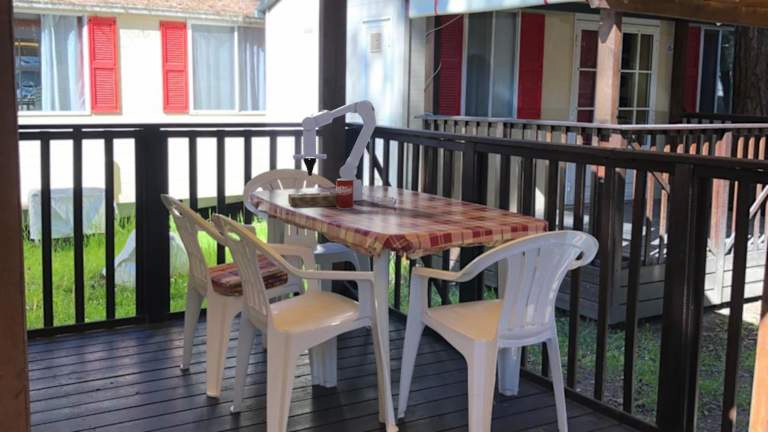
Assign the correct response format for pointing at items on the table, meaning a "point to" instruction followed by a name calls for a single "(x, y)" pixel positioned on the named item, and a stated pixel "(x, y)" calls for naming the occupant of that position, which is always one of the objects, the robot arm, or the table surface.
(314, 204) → the button panel
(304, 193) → the sage button
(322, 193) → the cream button
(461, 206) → the table surface
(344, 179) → the soda can
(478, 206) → the table surface
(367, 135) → the robot arm
